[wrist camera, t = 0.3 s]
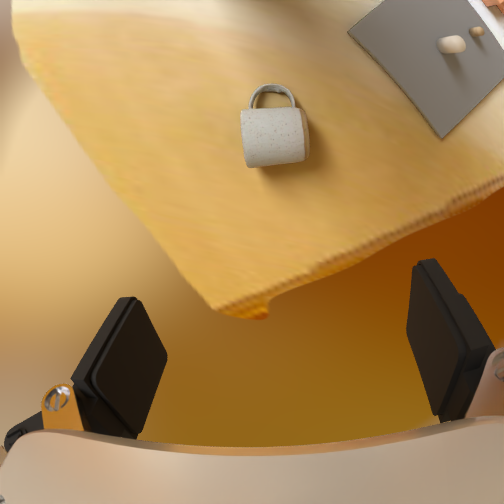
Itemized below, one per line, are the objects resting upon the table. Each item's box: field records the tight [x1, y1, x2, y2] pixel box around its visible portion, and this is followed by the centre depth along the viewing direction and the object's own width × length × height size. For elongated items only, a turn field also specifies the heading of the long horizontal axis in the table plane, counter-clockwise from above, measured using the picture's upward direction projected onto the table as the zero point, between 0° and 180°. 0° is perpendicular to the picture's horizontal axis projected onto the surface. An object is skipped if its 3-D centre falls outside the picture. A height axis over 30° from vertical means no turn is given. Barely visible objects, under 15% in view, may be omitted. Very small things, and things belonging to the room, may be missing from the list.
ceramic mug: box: [240, 84, 310, 168], centre depth 38 cm, size 11×8×8 cm
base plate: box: [347, 0, 504, 138], centre depth 30 cm, size 20×20×6 cm
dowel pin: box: [469, 27, 484, 37], centre depth 28 cm, size 1×1×2 cm
